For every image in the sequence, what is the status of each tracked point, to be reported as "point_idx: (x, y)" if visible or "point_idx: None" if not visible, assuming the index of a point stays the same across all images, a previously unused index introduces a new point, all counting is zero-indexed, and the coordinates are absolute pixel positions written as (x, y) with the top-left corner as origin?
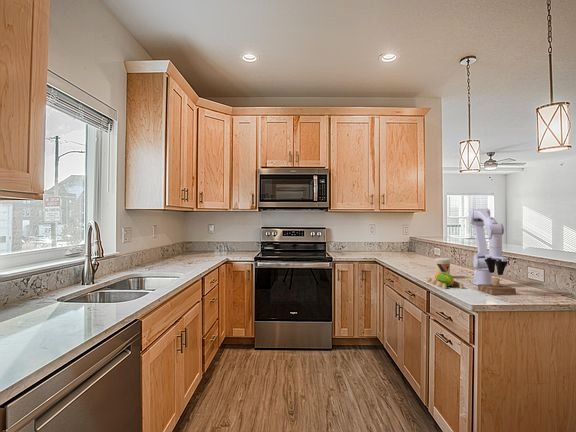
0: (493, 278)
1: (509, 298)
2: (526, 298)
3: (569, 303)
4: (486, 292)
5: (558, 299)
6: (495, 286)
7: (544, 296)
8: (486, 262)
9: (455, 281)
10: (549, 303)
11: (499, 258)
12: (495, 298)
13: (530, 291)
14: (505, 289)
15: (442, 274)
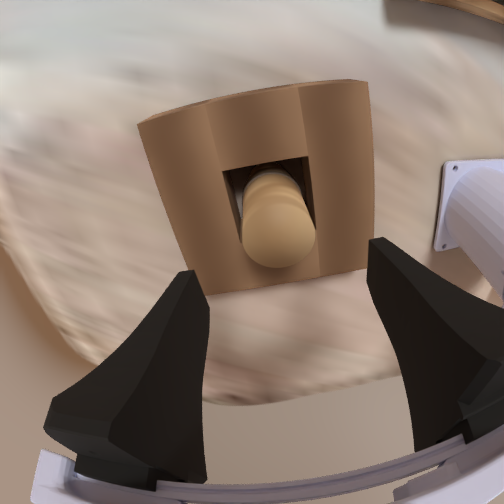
0: (280, 216)
1: (81, 198)
2: (116, 279)
3: (96, 362)
4: (223, 96)
5: None
6: (247, 188)
7: None
8: (484, 314)
9: (490, 5)
10: (60, 314)
11: (76, 500)
12: (56, 117)
13: (301, 349)
14: (176, 230)
15: None
